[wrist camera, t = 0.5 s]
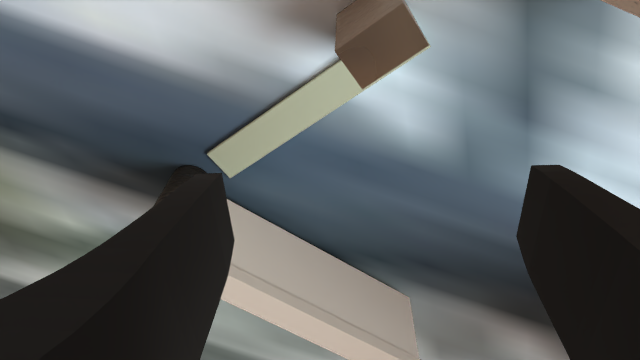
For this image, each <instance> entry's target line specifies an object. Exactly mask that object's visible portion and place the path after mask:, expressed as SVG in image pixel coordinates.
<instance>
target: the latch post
mask: <svg viewBox="0 0 640 360" xmlns="http://www.w3.org/2000/svg"><path fill="white" fill-rule="evenodd" d="M427 46H429V44H428V42H427V40H426V38H425V37H424V35H423V33H422V31H421V29H420V27H419V26H418V24H417V22H416V20H415V18H414V16H413V15H412V13H411V11H410V9H409V7H408V6H407V4H406V3H405V1H404V0H356V1H355V2H353V3H352V4H351V5H349V6H348V7H347V8H345V9H344V10H343V11H341V12H340V13H338V14H337V19H336V39H335V52H336V54H337V55H338V56H339V58H340V59H341V61H342V62H343V63H344V65H345V66H346V68H347V69H348V70H349V72H350V73H351V74H352V76H353V77H354V79H355V80H356V81H357V83H358V84H359V86H360V87H361V88H362V89H364V88H365V87H367V86H368V85H370V84H371V83H373V82H374V81H376V80H377V79H379V78H380V77H382V76H383V75H385V74H387V73H388V72H390V71H391V70H393V69H394V68H396V67H397V66H399V65H400V64H402V63H403V62H405V61H406V60H408V59H409V58H411V57H412V56H414V55H415V54H417V53H418V52H420V51H421V50H423V49H424V48H426V47H427Z"/></svg>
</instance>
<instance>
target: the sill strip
mask: <svg viewBox="0 0 640 360" xmlns="http://www.w3.org/2000/svg"><path fill="white" fill-rule="evenodd" d="M424 37H425V36H424ZM427 42H428V41H427ZM428 44H429V43H428ZM429 47H431V46H430V45H429V46H427V47H426V48H424V49H423V50H421V51H420V52H418V53H417V54H415V55H414V56H412V57H411V58H409V59H408V60H406V61H405V62H403V63H402V64H400V65H399V66H397V67H396V68H394V69H393V70H391V71H390V72H388V73H387V74H385V75H383V76H382V77H380V78H379V79H377V80H376V81H374V82H373V83H371V84H370V85H368V86H367V87H365V88H364V89H362V88H361V87H360V86H359V84H358V83H357V81H356V80H355V79H354V77H353V76H352V74H351V73H350V72H349V70H348V69H347V68H346V66H345V65H344V63H343V62H342V61H341V60H339V61H338V62H337V63H335V64H334V65H332V66H331V67H329V68H328V69H327V70H325V71H324V72H322V73H321V74H319V75H318V76H317V77H315V78H314V79H312V80H311V81H309V82H308V83H307V84H305V85H304V86H302V87H301V88H299V89H298V90H296V91H295V92H294V93H292V94H291V95H289V96H288V97H286V98H285V99H284V100H282V101H281V102H279V103H278V104H276V105H275V106H274V107H272V108H271V109H269V110H268V111H266V112H265V113H264V114H262V115H261V116H259V117H258V118H256V119H255V120H254V121H252V122H251V123H249V124H248V125H246V126H245V127H243V128H242V129H241V130H239V131H238V132H236V133H235V134H233V135H232V136H231V137H229V138H228V139H226V140H225V141H223V142H222V143H221V144H219V145H218V146H216V147H215V148H213V149H212V150H211V151H209V152H208V153H207V155H208V156H209V157H210V158H211V159H212V160H213V161H214V162H215V163H216V164H217V165H218V166H219V167H220V168H221V169H222V170H223V171H224V173H225V174H226V175H227V176H228V177H229V178H231V177H233V176H235V175H236V174H238V173H239V172H241V171H242V170H244V169H245V168H247V167H248V166H250V165H251V164H253V163H254V162H256V161H257V160H259V159H260V158H262V157H263V156H265V155H267V154H268V153H270V152H271V151H273V150H274V149H276V148H277V147H279V146H280V145H282V144H283V143H285V142H286V141H288V140H289V139H291V138H292V137H294V136H295V135H297V134H298V133H300V132H302V131H303V130H305V129H306V128H308V127H309V126H311V125H312V124H314V123H315V122H317V121H318V120H320V119H321V118H323V117H324V116H326V115H327V114H329V113H330V112H332V111H334V110H335V109H337V108H338V107H340V106H341V105H343V104H344V103H346V102H347V101H349V100H350V99H352V98H353V97H355V96H356V95H358V94H359V93H361V92H362V91H364V90H365V89H367V88H369V87H370V86H372V85H373V84H375V83H376V82H378V81H379V80H381V79H382V78H384V77H385V76H387V75H388V74H390V73H391V72H393V71H394V70H396V69H397V68H399V67H401V66H402V65H404V64H405V63H407V62H408V61H410V60H411V59H413V58H414V57H416V56H417V55H419V54H420V53H422V52H423V51H425V50H426V49H428V48H429Z"/></svg>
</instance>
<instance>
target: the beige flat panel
mask: <svg viewBox="0 0 640 360" xmlns="http://www.w3.org/2000/svg"><path fill="white" fill-rule="evenodd" d="M227 203H228V208H229V214H230V219H231V224H232V229H233V234H234V239H235V241H234V247H233V253H232V258H231V264H230V269H229V273H228V277H227V281H226V284H225V287H224V290H223V293H222V296H221V299H222V300H224V301H226V302H228V303H230V304H232V305H234V306H236V307H239V308H241V309H243V310H245V311H247V312H249V313H251V314H253V315H255V316H258V317H260V318H262V319H264V320H266V321H268V322H270V323H272V324H274V325H277V326H279V327H281V328H283V329H285V330H287V331H289V332H291V333H293V334H296V335H298V336H300V337H302V338H304V339H306V340H308V341H310V342H312V343H315V344H317V345H319V346H321V347H323V348H325V349H327V350H329V351H331V352H334V353H336V354H338V355H340V356H342V357H344V358H346V359H348V360H421V359H419V353H418V347H417V341H416V335H415V329H414V322H413V316H412V310H411V304H410V298H409V297H407V296H406V295H404V294H402V293H400V292H398V291H396V290H394V289H393V288H391V287H389V286H387V285H385V284H383V283H382V282H380V281H378V280H376V279H374V278H372V277H370V276H369V275H367V274H365V273H363V272H361V271H359V270H357V269H356V268H354V267H352V266H350V265H348V264H346V263H344V262H343V261H341V260H339V259H337V258H335V257H333V256H331V255H330V254H328V253H326V252H324V251H322V250H320V249H319V248H317V247H315V246H313V245H311V244H309V243H307V242H306V241H304V240H302V239H300V238H298V237H296V236H294V235H293V234H291V233H289V232H287V231H285V230H283V229H281V228H280V227H278V226H276V225H274V224H272V223H270V222H269V221H267V220H265V219H263V218H261V217H259V216H257V215H256V214H254V213H252V212H250V211H248V210H246V209H244V208H243V207H241V206H239V205H237V204H235V203H233V202H231V201H230V200H228V199H227Z"/></svg>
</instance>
